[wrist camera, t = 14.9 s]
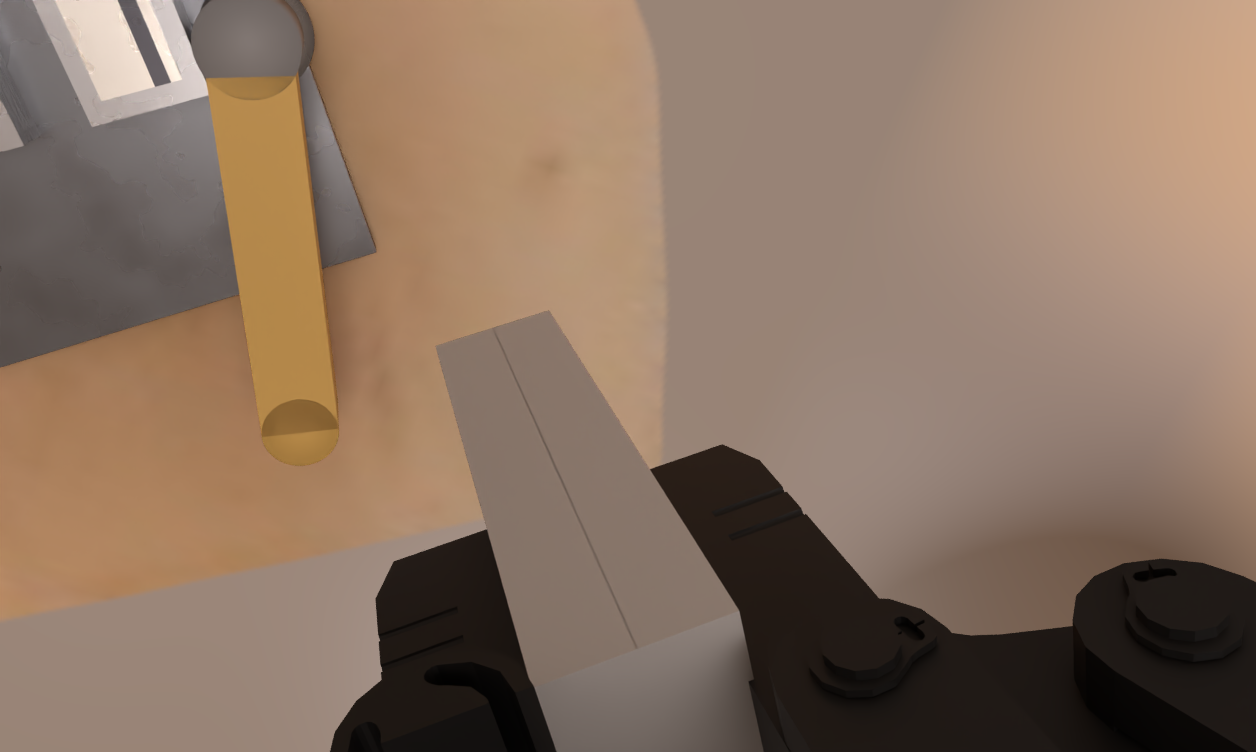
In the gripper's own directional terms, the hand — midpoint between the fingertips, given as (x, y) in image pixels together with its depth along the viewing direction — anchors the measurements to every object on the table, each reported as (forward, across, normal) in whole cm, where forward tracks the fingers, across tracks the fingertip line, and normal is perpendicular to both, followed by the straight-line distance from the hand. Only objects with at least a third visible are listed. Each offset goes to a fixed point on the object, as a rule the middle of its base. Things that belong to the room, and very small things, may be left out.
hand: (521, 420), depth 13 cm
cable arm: (+33, -6, -3) cm, 33 cm away
